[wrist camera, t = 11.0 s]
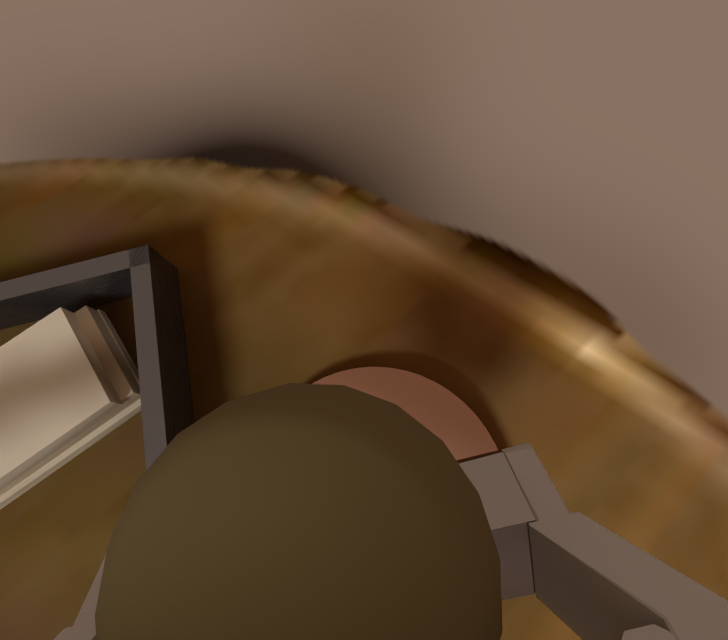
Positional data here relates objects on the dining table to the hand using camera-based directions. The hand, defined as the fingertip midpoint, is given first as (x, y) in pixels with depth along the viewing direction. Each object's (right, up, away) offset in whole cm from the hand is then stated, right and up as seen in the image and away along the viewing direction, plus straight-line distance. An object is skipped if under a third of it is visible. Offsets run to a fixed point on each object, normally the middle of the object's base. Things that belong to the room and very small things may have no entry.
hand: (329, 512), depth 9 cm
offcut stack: (-16, -2, +16) cm, 23 cm away
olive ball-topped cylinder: (+1, -3, +6) cm, 7 cm away
